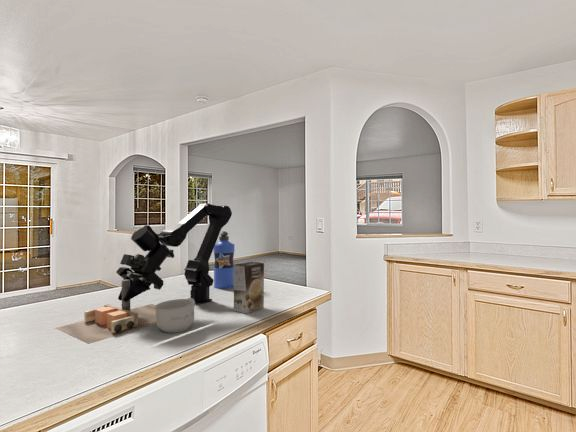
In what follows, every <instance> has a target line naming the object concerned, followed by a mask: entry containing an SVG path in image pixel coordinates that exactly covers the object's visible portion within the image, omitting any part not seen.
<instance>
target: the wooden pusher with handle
mask: <svg viewBox="0 0 576 432" xmlns="http://www.w3.org/2000/svg"><path fill="white" fill-rule="evenodd" d="M121 289H122V300H121V307H118V306H115V305H112V304H104V306H103V307H101V308H104V307H112V308H115V311H119V310H121V311H124V312H127V317H125V318H122V319H118V320H114V321H111V332H113V333H115V332H120V331H122V330H125V329H128V328H132V327H135V326H138V313H135V312H132V311H130V309H131V299H130V300H128V301H127V302H124V301H123V298H124V297H125V295H126V294H127V292H128V291H129V289H130V280H124V279H122V280H121ZM99 308H100V307H98V308H93V309H90V310H86V311H84V312H83V313H84V314H83V315H84V321H85V322H88V321H92V320H95V309H99Z"/></svg>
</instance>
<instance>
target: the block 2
mask: <svg viewBox="0 0 576 432" xmlns="http://www.w3.org/2000/svg"><path fill="white" fill-rule="evenodd" d="M125 317H127V312H124V311H121V310H119V311H115V312H111V313H107V327H108V328H110V329H111V321H114V320H118V319H122V318H125Z"/></svg>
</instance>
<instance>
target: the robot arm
mask: <svg viewBox="0 0 576 432" xmlns="http://www.w3.org/2000/svg"><path fill="white" fill-rule="evenodd" d="M232 214H233V212H232V209H231V208H230V206H228V205H215V204H211V203H200V204H198V205H197V207H196V208H195V209H193V210H192V211H191V212H190V213H188V215H186V216H185V217H184V218H182V219H181V220H180V221H179V222H178V223H176V224H174V225H171V226H168V227H167V228H165V229H163V230H161V232H160V233H156V232H155V231H154V230H153V228H152V227H151V226H150V225H149V224H148V225H144V226H143V227H140V228H139V229H138V230H137V229H136V231H134V232H133V233H132V235H131V237H130V239H131V241H133V242H134V244H136V245H137V246H138V247H139V248H140V249H141V250H142V251H143V252H147V253H146V255H143V254H140V253H137V254H135V255H131V254H125V253H124V254H123V255H122V257H121V260H120V262H119V264H121V265H123V266H120V267H119V268H118V269H117V270H116V272H115V273H116V274H117V275H118V276H119V277H121V278H122V280H130V289H129V291H128V292H127V294H126V295H125V297H124V298H123V301H124V302H127V301H128V300H130V301H131V300H132V299H134V298H135V297H137V296H139V295H140V294H143V293H145V292H146V291H149V290H151V289H152V288H151V286H152V285H153V289H155V290H159V291H160V290H161V289H162V287H163V286H164V280H163V279H162V278H161V277H160V276H159V275H158V274H157V271H158V272H160V271H161V270H162V267H161V266H162V265H163V263H164V262H165V260H166V259H167V258H172V259H174V258H175V254H174V252H175V250H174V249H170V248H169V247H174V248H177V247H180V246H181V244H182V243H183V242H184V241H185V240H186V238H187V235H188V234H189V231H191V230H192V229H193V228H194V227H195V226H196V225H198V224H199V223H200V222H201V221H202V220H203V219H205V218H206V217H207V216H208V221H209V225H208V228H207V230H206V233H204V234H205V235H204V237H203V239H202V242H201V244H200V247H199V250H198V251H197V254H196V256H195V257H194V259H189V260H187V263H186V266H185V268H184V273H183V274H184V276H185V280H186V281H187V284H188V286H190V291H189V292H190V297H189V298H193V299H194V301H195V304H197V305H201V304H205V303H208V302H212V301H213V299H212V298H210V287H211V286H214V278H212V277H211V275H210V263H209V262H210V258H211V257H212V253H213V252H214V246H215V244H216V243H217V241H218V240H219V236H220V233H221V232H222V231H221V230H222V229H223V228H224V227H225V226H226V225H227V224H228V223H229V221H230V220H231V218H232ZM124 265H125V266H124ZM126 266H127V267H126ZM129 267H130V268H129ZM117 299H118V300H119V301H121V302H122V288H121V289H120V293H119V294H118V297H117Z"/></svg>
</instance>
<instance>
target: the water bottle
mask: <svg viewBox="0 0 576 432" xmlns="http://www.w3.org/2000/svg"><path fill="white" fill-rule="evenodd" d="M229 237H230V236H229V233H228V232H227V231H220V234H219V236H218V240H219V241H218V242H216V244H215V246H214V249H213V254H214V255H213V256H214V265H213V266H214V267H213V280H214V281H213V287H214V288H215V289H217V290H218V289H219V290H220V289H221V290H225V289H231V288H234V264H235V263H234V256H235V243H232V242H230V241H229V239H230V238H229Z"/></svg>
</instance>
